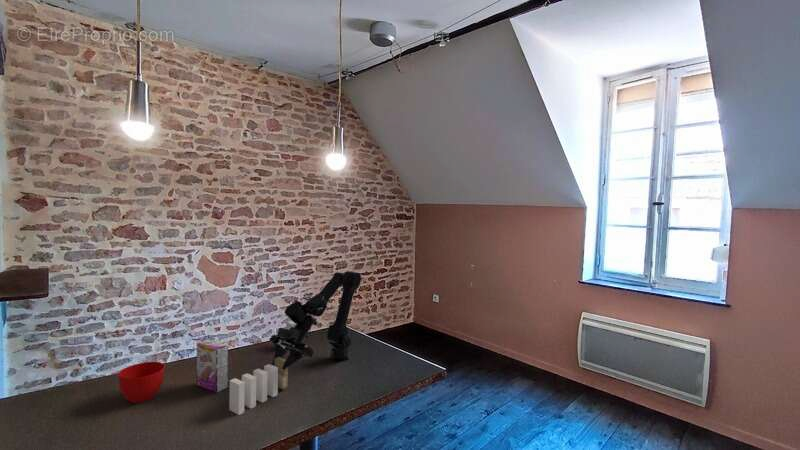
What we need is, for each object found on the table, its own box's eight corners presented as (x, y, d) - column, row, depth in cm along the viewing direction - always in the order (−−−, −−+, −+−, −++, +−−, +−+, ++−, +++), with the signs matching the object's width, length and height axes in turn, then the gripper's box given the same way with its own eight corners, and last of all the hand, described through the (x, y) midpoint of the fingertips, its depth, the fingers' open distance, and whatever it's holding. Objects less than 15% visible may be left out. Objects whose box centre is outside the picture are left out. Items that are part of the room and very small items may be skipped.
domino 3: (257, 395, 131) (258, 368, 130) (267, 400, 128) (267, 372, 127) (252, 398, 129) (253, 370, 128) (262, 402, 126) (262, 374, 126)
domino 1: (234, 407, 123) (235, 378, 122) (244, 412, 120) (244, 382, 120) (229, 410, 121) (229, 380, 121) (238, 414, 119) (239, 384, 118)
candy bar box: (195, 386, 136) (195, 342, 135) (207, 380, 140) (207, 338, 139) (216, 393, 131) (217, 348, 130) (228, 387, 135) (228, 344, 135)
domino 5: (278, 382, 138) (278, 356, 138) (287, 386, 136) (288, 360, 135) (273, 384, 136) (274, 358, 136) (283, 388, 134) (283, 362, 133)
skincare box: (299, 347, 174) (300, 322, 174) (290, 350, 172) (291, 324, 171) (294, 343, 179) (294, 319, 179) (285, 345, 176) (285, 321, 176)
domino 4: (268, 390, 134) (268, 363, 134) (277, 394, 132) (277, 367, 131) (263, 392, 133) (264, 365, 132) (272, 397, 130) (273, 369, 130)
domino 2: (246, 401, 127) (247, 373, 126) (256, 405, 124) (256, 377, 124) (241, 403, 125) (241, 375, 124) (250, 408, 122) (251, 379, 122)
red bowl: (157, 381, 138) (157, 355, 138) (168, 399, 126) (168, 370, 126) (114, 392, 129) (113, 364, 129) (121, 413, 117) (121, 382, 117)
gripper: (273, 314, 143) (248, 350, 134) (308, 323, 133) (283, 364, 124) (288, 328, 150) (266, 364, 141) (322, 338, 140) (300, 377, 132)
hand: (278, 367), depth 134 cm, fingers closed on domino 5, 5 cm apart
